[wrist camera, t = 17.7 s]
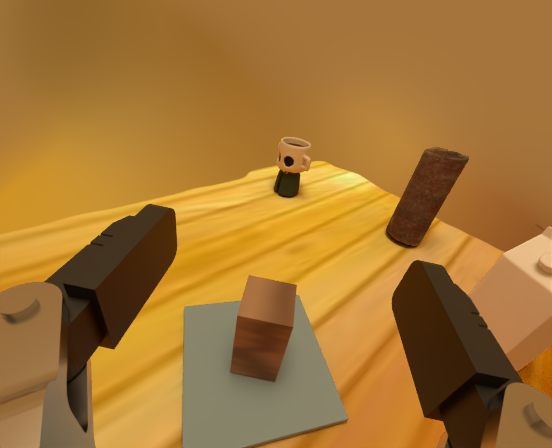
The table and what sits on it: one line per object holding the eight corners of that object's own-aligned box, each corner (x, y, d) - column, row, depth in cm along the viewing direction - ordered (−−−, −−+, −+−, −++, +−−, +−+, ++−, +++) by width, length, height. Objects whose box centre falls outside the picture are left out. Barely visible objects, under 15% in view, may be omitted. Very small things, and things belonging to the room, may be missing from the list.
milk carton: (475, 325, 41) (570, 226, 31) (517, 372, 36) (651, 271, 25) (437, 329, 39) (525, 225, 29) (476, 379, 34) (602, 273, 23)
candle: (402, 252, 54) (455, 159, 43) (376, 231, 59) (418, 143, 48) (425, 245, 58) (479, 158, 47) (399, 226, 63) (442, 143, 52)
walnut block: (229, 372, 29) (237, 315, 23) (240, 332, 33) (249, 275, 27) (274, 382, 29) (293, 327, 23) (279, 340, 33) (296, 285, 27)
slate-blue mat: (182, 466, 23) (182, 463, 22) (184, 310, 35) (184, 306, 35) (346, 421, 27) (348, 418, 27) (297, 298, 40) (298, 294, 39)
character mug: (261, 185, 69) (269, 135, 62) (282, 180, 73) (291, 133, 66) (289, 205, 63) (301, 152, 55) (310, 199, 67) (323, 149, 60)
